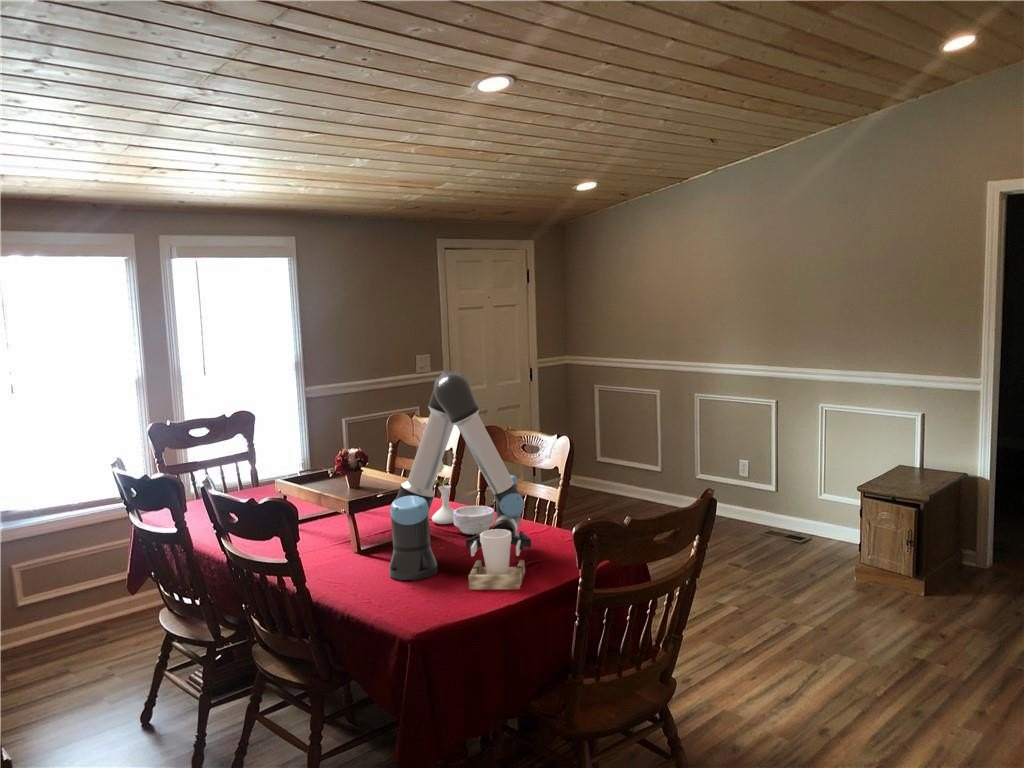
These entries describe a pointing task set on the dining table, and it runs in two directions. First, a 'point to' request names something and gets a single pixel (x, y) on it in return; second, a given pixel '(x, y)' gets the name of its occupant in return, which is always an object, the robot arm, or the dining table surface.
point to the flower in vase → (445, 511)
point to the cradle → (496, 577)
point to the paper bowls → (474, 519)
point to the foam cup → (496, 550)
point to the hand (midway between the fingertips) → (494, 551)
